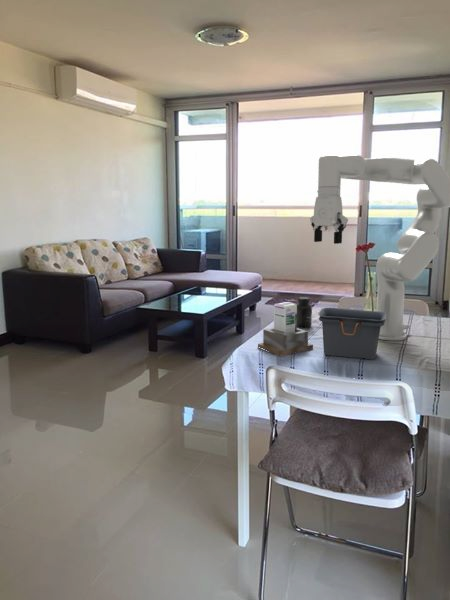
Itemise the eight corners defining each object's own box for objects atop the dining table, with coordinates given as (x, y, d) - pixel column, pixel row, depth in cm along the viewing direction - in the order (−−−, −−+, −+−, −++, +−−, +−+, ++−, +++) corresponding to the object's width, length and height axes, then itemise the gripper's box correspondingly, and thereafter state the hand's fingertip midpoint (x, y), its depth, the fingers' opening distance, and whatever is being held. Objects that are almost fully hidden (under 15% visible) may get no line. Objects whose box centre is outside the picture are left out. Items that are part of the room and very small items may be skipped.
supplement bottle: (311, 329, 200) (311, 299, 198) (294, 328, 202) (294, 299, 199) (311, 324, 207) (312, 296, 205) (295, 324, 208) (295, 296, 206)
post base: (290, 341, 184) (290, 323, 182) (313, 348, 174) (313, 330, 172) (257, 347, 176) (257, 330, 174) (279, 356, 166) (279, 337, 165)
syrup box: (285, 347, 171) (285, 306, 168) (273, 343, 175) (273, 303, 173) (297, 344, 174) (297, 303, 171) (285, 340, 179) (285, 301, 176)
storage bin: (384, 351, 170) (386, 310, 167) (383, 365, 156) (385, 321, 153) (321, 346, 177) (322, 307, 174) (314, 359, 162) (315, 316, 160)
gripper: (303, 193, 176) (303, 241, 179) (339, 192, 162) (337, 244, 165) (319, 193, 180) (318, 240, 183) (355, 192, 166) (353, 243, 169)
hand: (327, 242), depth 174 cm, fingers open, 9 cm apart
